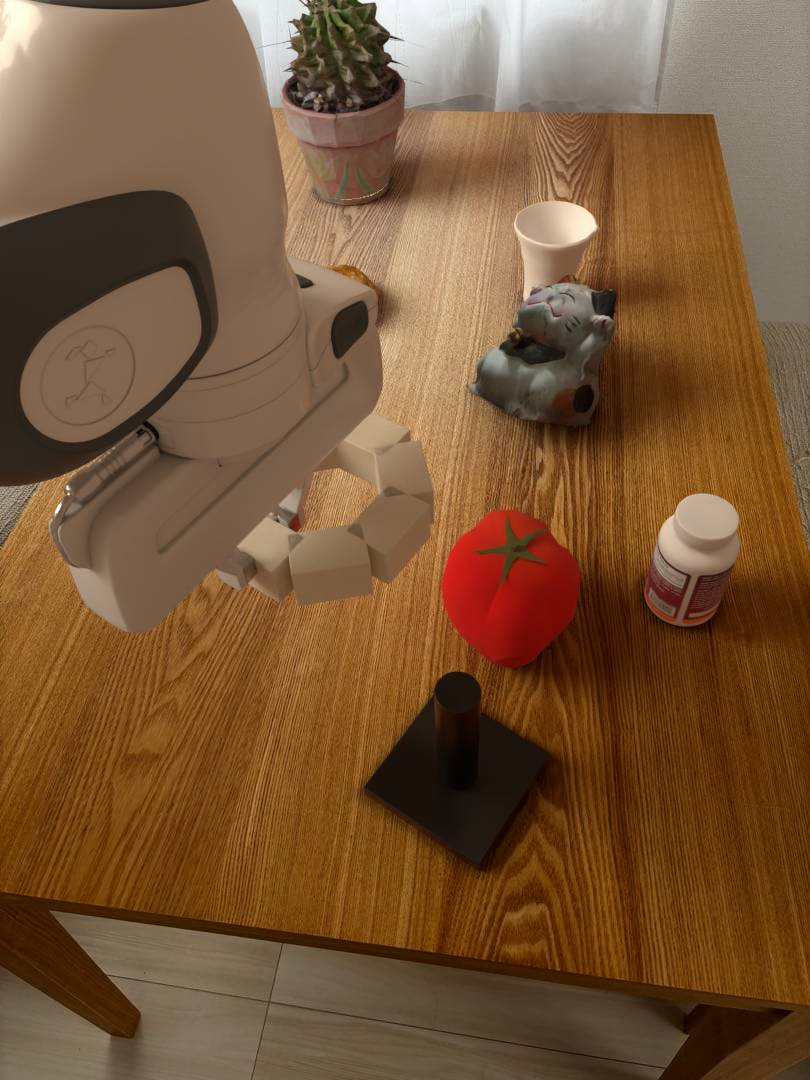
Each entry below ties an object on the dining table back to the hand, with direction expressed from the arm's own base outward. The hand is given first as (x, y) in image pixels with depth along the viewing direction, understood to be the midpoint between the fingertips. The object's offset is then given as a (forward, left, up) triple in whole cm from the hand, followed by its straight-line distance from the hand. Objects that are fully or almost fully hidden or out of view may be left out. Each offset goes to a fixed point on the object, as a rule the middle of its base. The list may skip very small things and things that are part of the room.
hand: (264, 552), depth 50 cm
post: (+3, -11, -23) cm, 26 cm away
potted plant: (+66, +46, -23) cm, 83 cm away
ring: (+5, 0, -2) cm, 5 cm away
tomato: (+17, -7, -23) cm, 30 cm away
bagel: (+43, +32, -23) cm, 58 cm away
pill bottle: (+27, -18, -23) cm, 40 cm away
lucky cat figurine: (+43, +5, -23) cm, 49 cm away
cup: (+58, +12, -23) cm, 63 cm away
